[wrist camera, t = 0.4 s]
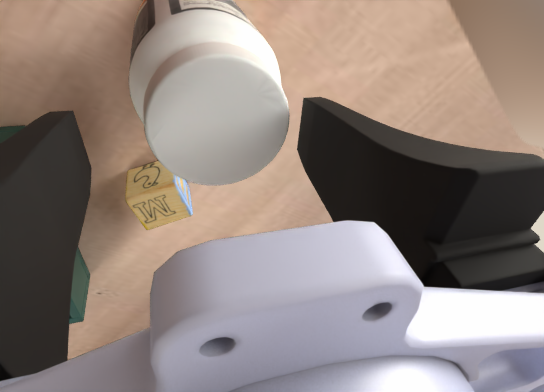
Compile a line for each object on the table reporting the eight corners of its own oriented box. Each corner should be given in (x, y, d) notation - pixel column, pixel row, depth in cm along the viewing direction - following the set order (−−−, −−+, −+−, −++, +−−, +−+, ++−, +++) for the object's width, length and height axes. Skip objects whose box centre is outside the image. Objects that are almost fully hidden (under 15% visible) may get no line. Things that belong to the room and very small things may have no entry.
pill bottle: (188, 107, 21) (210, 222, 14) (108, 26, 17) (79, 124, 10) (265, 46, 20) (333, 136, 13) (196, -56, 16) (236, -12, 9)
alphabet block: (189, 188, 25) (194, 217, 23) (147, 202, 25) (147, 233, 22) (172, 153, 23) (175, 182, 20) (126, 169, 22) (123, 200, 20)
